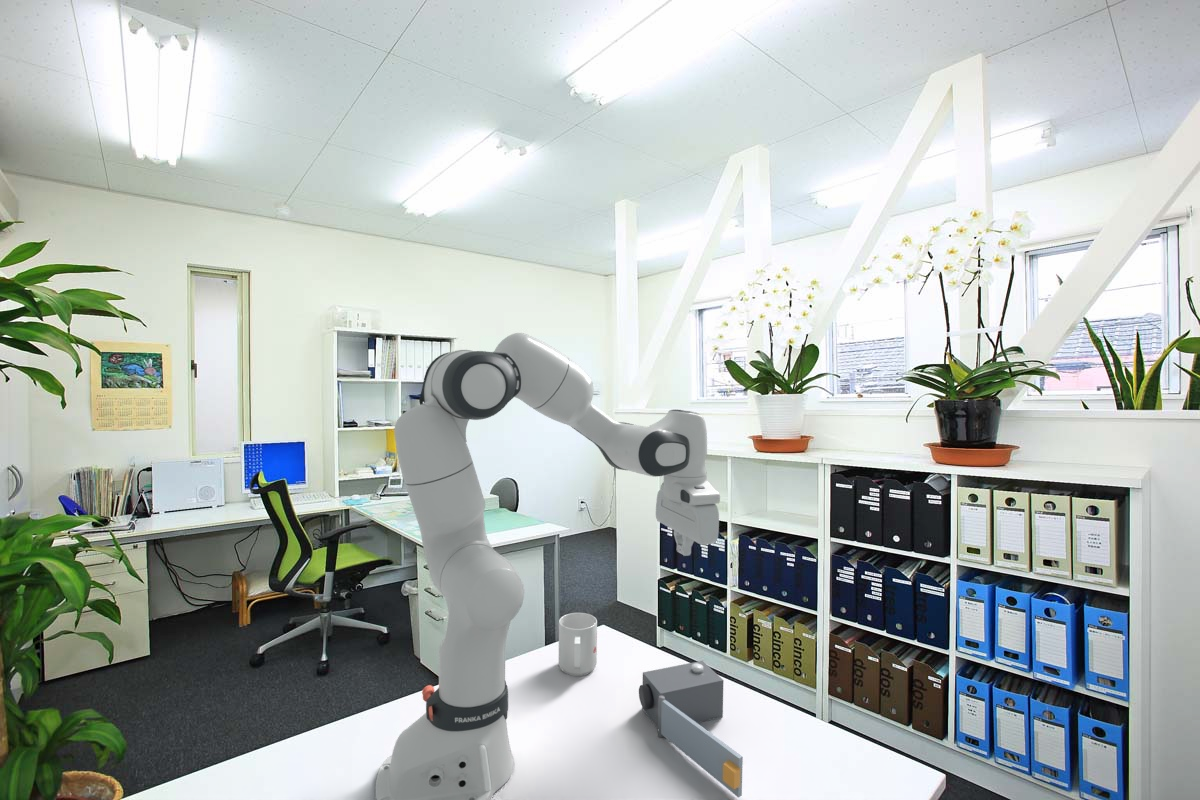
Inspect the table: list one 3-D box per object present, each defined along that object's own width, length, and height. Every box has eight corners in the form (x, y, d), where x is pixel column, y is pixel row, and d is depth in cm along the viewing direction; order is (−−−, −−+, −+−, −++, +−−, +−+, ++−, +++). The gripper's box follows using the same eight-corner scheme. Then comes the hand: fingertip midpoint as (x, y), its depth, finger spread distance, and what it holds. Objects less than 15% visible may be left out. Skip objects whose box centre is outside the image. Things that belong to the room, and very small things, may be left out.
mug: (559, 657, 132) (559, 612, 131) (596, 658, 132) (596, 612, 131) (556, 685, 120) (557, 635, 119) (597, 685, 120) (597, 636, 119)
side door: (651, 737, 103) (652, 698, 102) (661, 732, 104) (661, 694, 104) (733, 806, 86) (734, 761, 86) (743, 800, 88) (745, 755, 87)
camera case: (654, 733, 104) (655, 690, 104) (636, 709, 111) (637, 669, 111) (722, 716, 109) (723, 676, 109) (701, 695, 117) (702, 657, 116)
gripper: (649, 479, 122) (648, 541, 122) (696, 498, 103) (695, 571, 103) (674, 478, 124) (673, 538, 125) (725, 496, 105) (723, 567, 105)
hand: (683, 553), depth 114 cm, fingers closed
